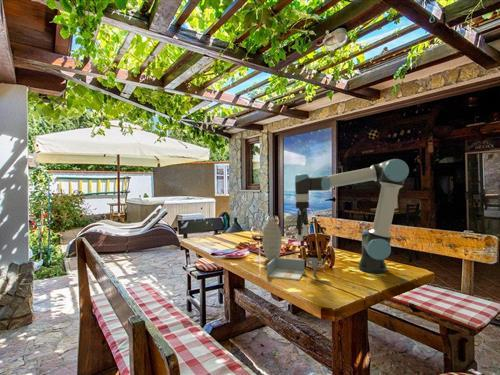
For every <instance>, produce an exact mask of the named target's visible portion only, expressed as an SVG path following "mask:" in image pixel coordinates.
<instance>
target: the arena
mask: <svg viewBox="0 0 500 375" xmlns="http://www.w3.org/2000/svg"><path fill="white" fill-rule="evenodd" d="M304 273H305V259H296V258H287V257H285V258H284V257H278V258H276V257H275V258H273V259H272V260H271V261H268V263H267V264H266V277H267V278H273V279H274V278H276V279H282V280H291V281H292V280H293V281H300V279H301V278H302V276H303V275H304Z"/></svg>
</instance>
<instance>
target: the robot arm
mask: <svg viewBox="0 0 500 375" xmlns="http://www.w3.org/2000/svg"><path fill="white" fill-rule="evenodd" d="M409 173H410V169H409V166H408V164H407V162H406V161H404V160H402V159H399V158H393V159H388V160H385V161H383V162H380V163H377V164H372V165H371V166H370V167H365V168H361V169H356V170H355V169H354V170H351V171H346V172H345V171H344V172H340V173H339V172H338V173H335V174H331V175H330V174H329V175H325V176H317V177H309V174H306V173H305V174H304V173H303V174H302V173H301V174H296V175H295V177H294V179H295V182H294V186H295V190H294V191H295V195H294V197H295V208H296V209H298V210H297V216H296V217H297V218H296V225H295V226H296V227H295V230H297V241H300V242H303V241H304V240H303V238H304V237H308V236H309V229H308V225H310V223H309V216H308V209H309V208H310V202H309V201H310V192H309V191H311V192H312V191H316V192H318V191H319V192H321V191H323V192H325V191H330V190H331V188H336V187H342V186H348V185H353V184H359V183H360V184H361V183H364V182H370V181H374V182H379V184H380V185H381V188H380V191H379V196H378V200H377V201H378V202H377V206H376V210H375V214H374V215H375V216H374V220H373V224H372V228H371V229H369V230H367V229H366V230H362V232H361V235H360V236H361V256H360V260H359V262H358V269H359V270H361V271H363V272H365V273H369V274H370V273H371V274H383V273H386V272H387V268H388V266H387V264H386V262H385V259H387V258H389V256H390V254H391V252H392V248H391V240H392V234H391V233H390V231H391V228H392V226H391V225H392V222H393V218H394V214H395V209H396V205H397V202H398V201H397V199H398V196H399V193H400V192H399V191H400V189H401V188H403V187H404V184H405V180H406V179H407V177H408V176H409Z"/></svg>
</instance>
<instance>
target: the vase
mask: <svg viewBox="0 0 500 375" xmlns="http://www.w3.org/2000/svg"><path fill="white" fill-rule="evenodd" d="M282 238H283V237H282V232H281V228H280V227H279V225H278V222H276V219H275V217H269V218H268V221H267V222H266V225H265V226H264V229H263V233H262V249H263V252H264V255H265V257H266V259H267V261H268V262H270V261H271V260H272V259H273V258H275V257H276V258H280V254H281V251H282V241H283V240H282Z"/></svg>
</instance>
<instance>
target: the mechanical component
mask: <svg viewBox="0 0 500 375" xmlns="http://www.w3.org/2000/svg"><path fill="white" fill-rule="evenodd" d="M304 262H306V265H307V266H309V267H310V266H311V267H312V269H313V277H314V278H316V277H317V269H318V267H322V266H323V265H324V263H325V259H323V258H321V260H318V258H317V257H306V258H305V259H304Z"/></svg>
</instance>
